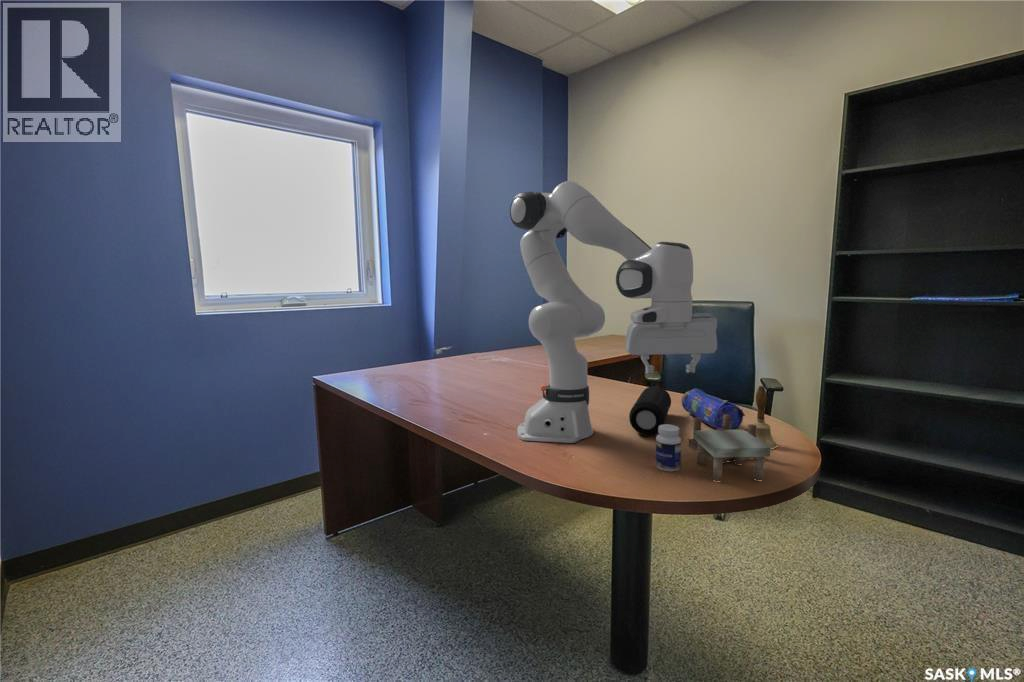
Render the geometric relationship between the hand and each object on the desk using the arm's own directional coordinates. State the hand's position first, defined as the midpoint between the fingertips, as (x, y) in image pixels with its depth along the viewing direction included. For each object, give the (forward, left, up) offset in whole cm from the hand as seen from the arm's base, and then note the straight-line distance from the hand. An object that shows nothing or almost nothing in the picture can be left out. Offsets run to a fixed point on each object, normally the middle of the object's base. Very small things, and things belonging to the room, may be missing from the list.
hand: (670, 373), depth 104 cm
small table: (+13, -3, -23) cm, 27 cm away
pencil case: (+23, +32, -23) cm, 46 cm away
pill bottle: (0, 0, -23) cm, 23 cm away
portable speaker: (+5, +32, -23) cm, 40 cm away
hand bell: (+29, +14, -23) cm, 40 cm away
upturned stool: (+17, +9, -23) cm, 30 cm away
